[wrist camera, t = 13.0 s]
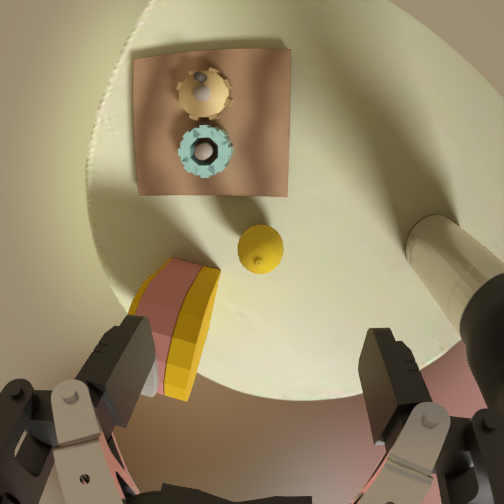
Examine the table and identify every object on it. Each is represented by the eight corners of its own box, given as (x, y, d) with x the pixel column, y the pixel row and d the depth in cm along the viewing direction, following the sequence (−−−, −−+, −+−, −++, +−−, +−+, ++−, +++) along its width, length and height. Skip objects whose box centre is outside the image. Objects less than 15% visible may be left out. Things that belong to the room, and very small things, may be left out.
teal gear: (233, 124, 34) (230, 124, 31) (233, 173, 36) (230, 177, 34) (183, 125, 34) (177, 126, 32) (185, 174, 37) (179, 178, 34)
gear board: (290, 52, 31) (292, 40, 25) (286, 193, 39) (288, 207, 33) (140, 61, 32) (117, 54, 27) (144, 191, 40) (123, 205, 34)
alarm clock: (167, 245, 43) (109, 323, 26) (223, 259, 43) (192, 348, 27) (159, 324, 49) (118, 408, 33) (206, 337, 50) (180, 428, 33)
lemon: (235, 223, 41) (226, 247, 34) (276, 211, 40) (276, 234, 33) (248, 259, 43) (243, 290, 36) (287, 249, 42) (289, 278, 35)
